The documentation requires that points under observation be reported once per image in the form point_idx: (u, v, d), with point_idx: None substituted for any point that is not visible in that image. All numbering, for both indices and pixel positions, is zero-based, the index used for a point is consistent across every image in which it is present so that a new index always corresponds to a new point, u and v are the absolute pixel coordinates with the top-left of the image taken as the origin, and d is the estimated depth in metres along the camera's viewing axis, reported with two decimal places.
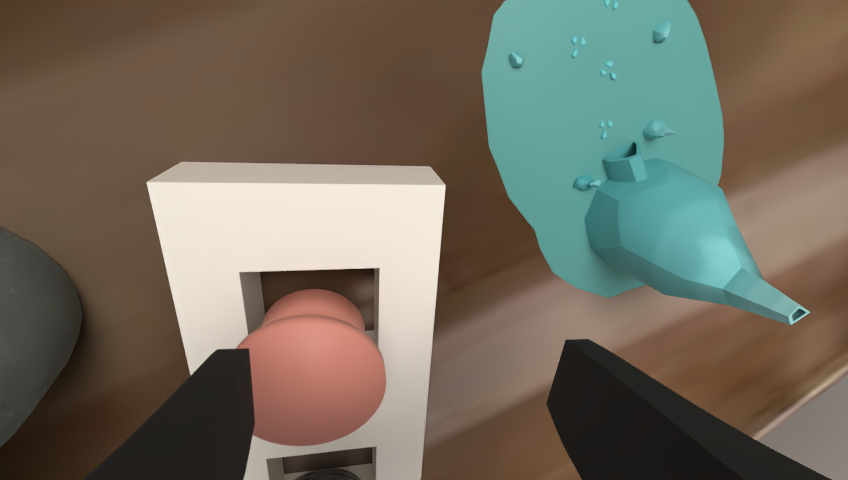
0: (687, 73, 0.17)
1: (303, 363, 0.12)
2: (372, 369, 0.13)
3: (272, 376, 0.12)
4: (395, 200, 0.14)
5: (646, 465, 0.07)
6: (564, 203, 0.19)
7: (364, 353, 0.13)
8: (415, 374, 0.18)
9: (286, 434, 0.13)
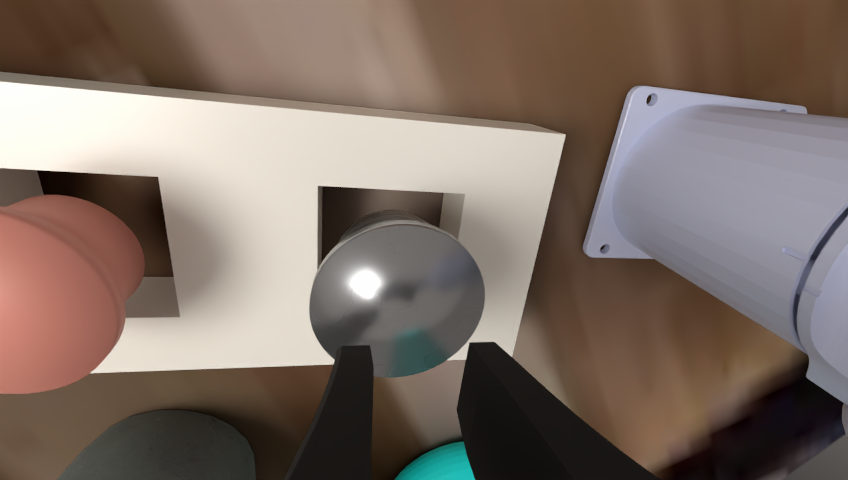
0: None
1: None
2: None
3: None
4: None
5: (522, 478, 0.06)
6: None
7: None
8: (163, 120, 0.12)
9: (90, 337, 0.10)
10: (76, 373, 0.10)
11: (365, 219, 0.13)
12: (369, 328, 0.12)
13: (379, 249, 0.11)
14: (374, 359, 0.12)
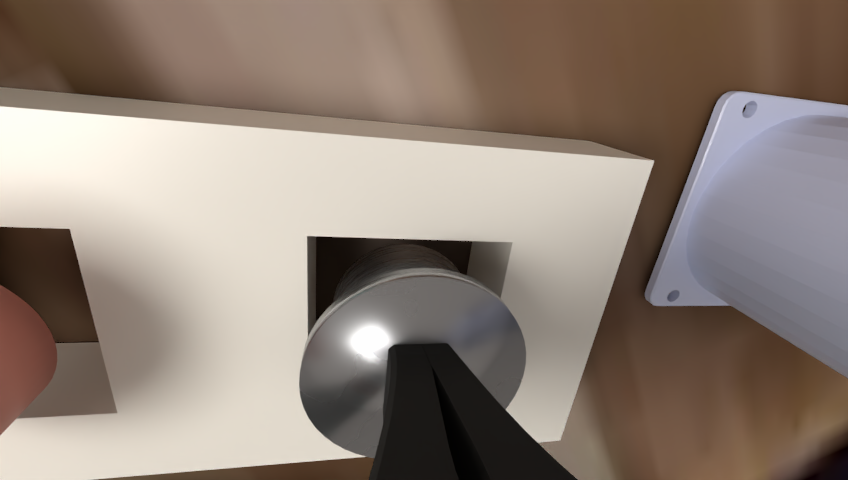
0: None
1: None
2: None
3: None
4: None
5: None
6: None
7: None
8: (71, 147, 0.08)
9: None
10: None
11: (372, 257, 0.11)
12: (377, 403, 0.09)
13: (392, 308, 0.08)
14: None
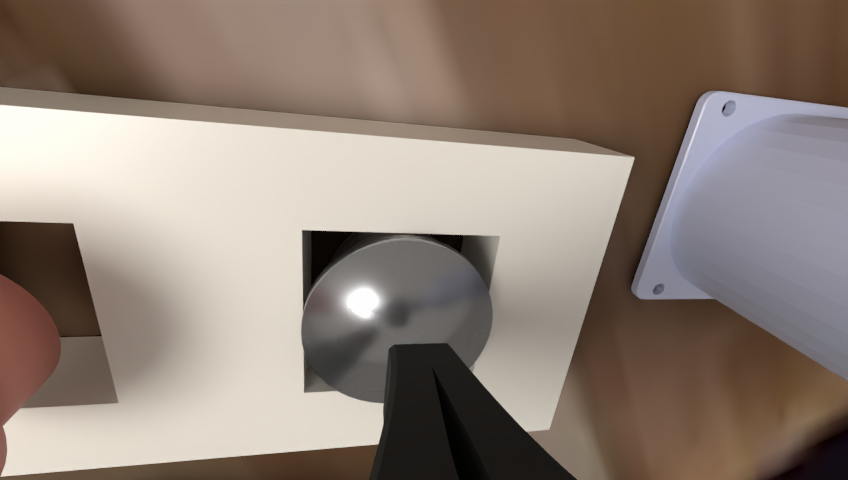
0: None
1: None
2: None
3: None
4: None
5: None
6: None
7: None
8: (75, 145, 0.08)
9: None
10: None
11: None
12: (367, 351, 0.11)
13: (378, 267, 0.10)
14: (372, 384, 0.11)
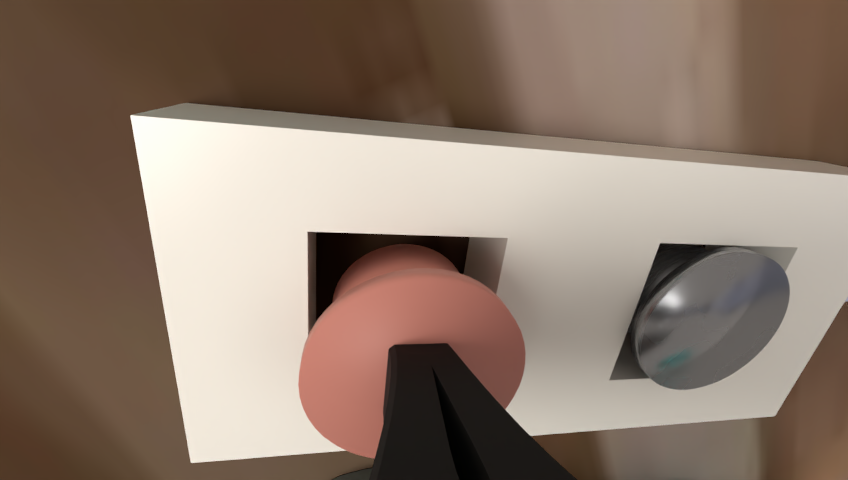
0: None
1: (368, 383, 0.09)
2: (397, 299, 0.08)
3: None
4: (176, 205, 0.09)
5: None
6: None
7: (362, 310, 0.08)
8: (534, 176, 0.10)
9: None
10: None
11: None
12: (685, 344, 0.13)
13: (720, 274, 0.12)
14: (677, 373, 0.13)
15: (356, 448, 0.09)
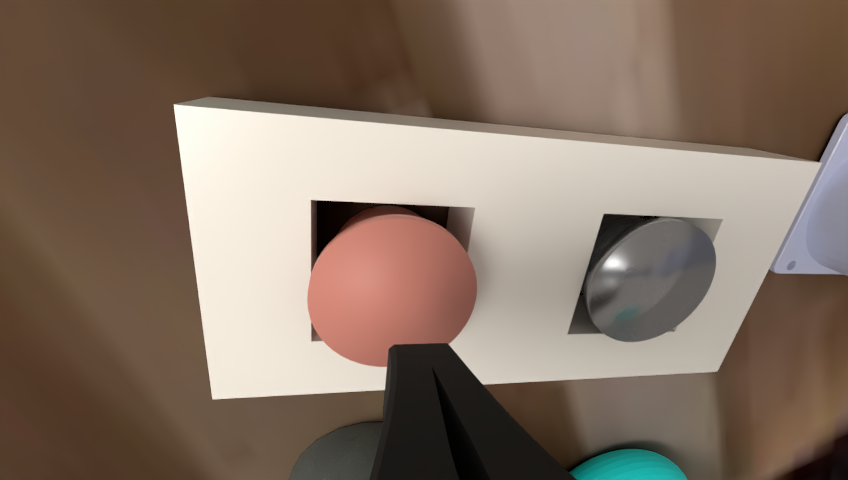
0: None
1: (359, 301, 0.12)
2: (378, 235, 0.11)
3: (370, 328, 0.12)
4: (206, 176, 0.11)
5: None
6: None
7: (354, 243, 0.11)
8: (495, 155, 0.12)
9: (452, 320, 0.13)
10: None
11: None
12: (628, 301, 0.15)
13: (654, 239, 0.14)
14: (624, 327, 0.15)
15: (350, 355, 0.12)
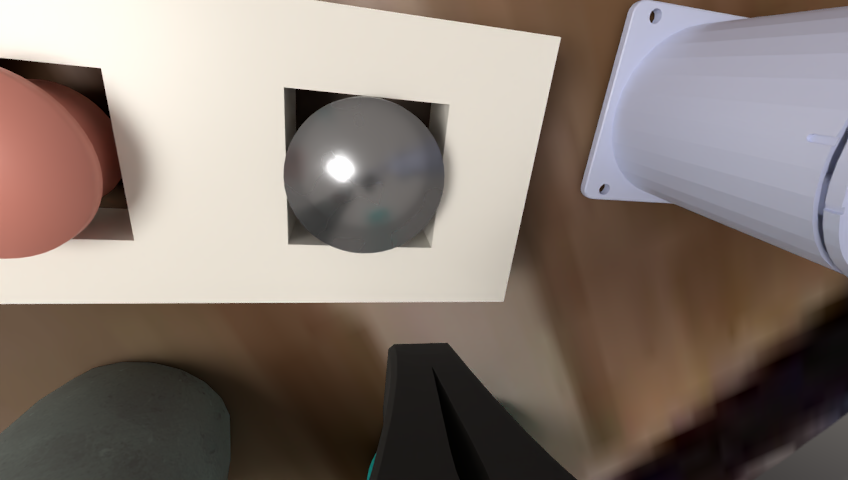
0: None
1: None
2: None
3: None
4: None
5: None
6: None
7: None
8: None
9: (68, 200, 0.11)
10: (55, 239, 0.11)
11: None
12: (339, 199, 0.13)
13: (345, 119, 0.12)
14: (344, 233, 0.13)
15: None
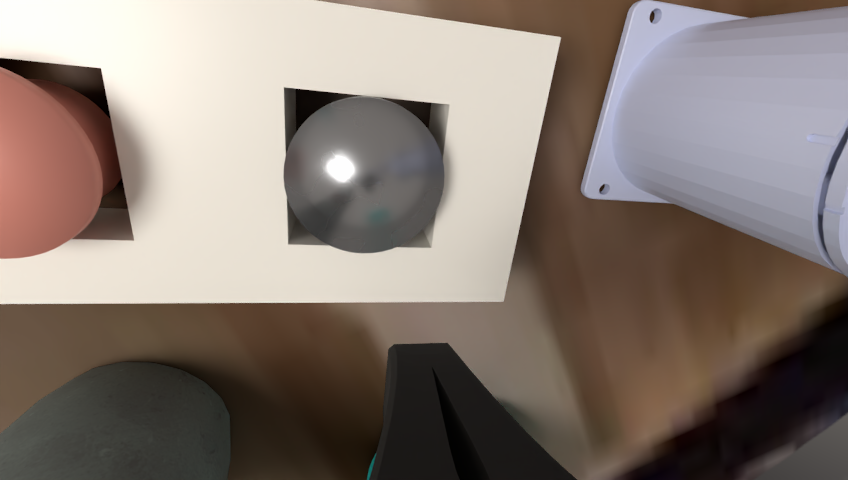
0: None
1: None
2: None
3: None
4: None
5: None
6: None
7: None
8: None
9: (68, 200, 0.11)
10: (55, 239, 0.11)
11: None
12: (339, 199, 0.13)
13: (345, 119, 0.12)
14: (344, 233, 0.13)
15: None
